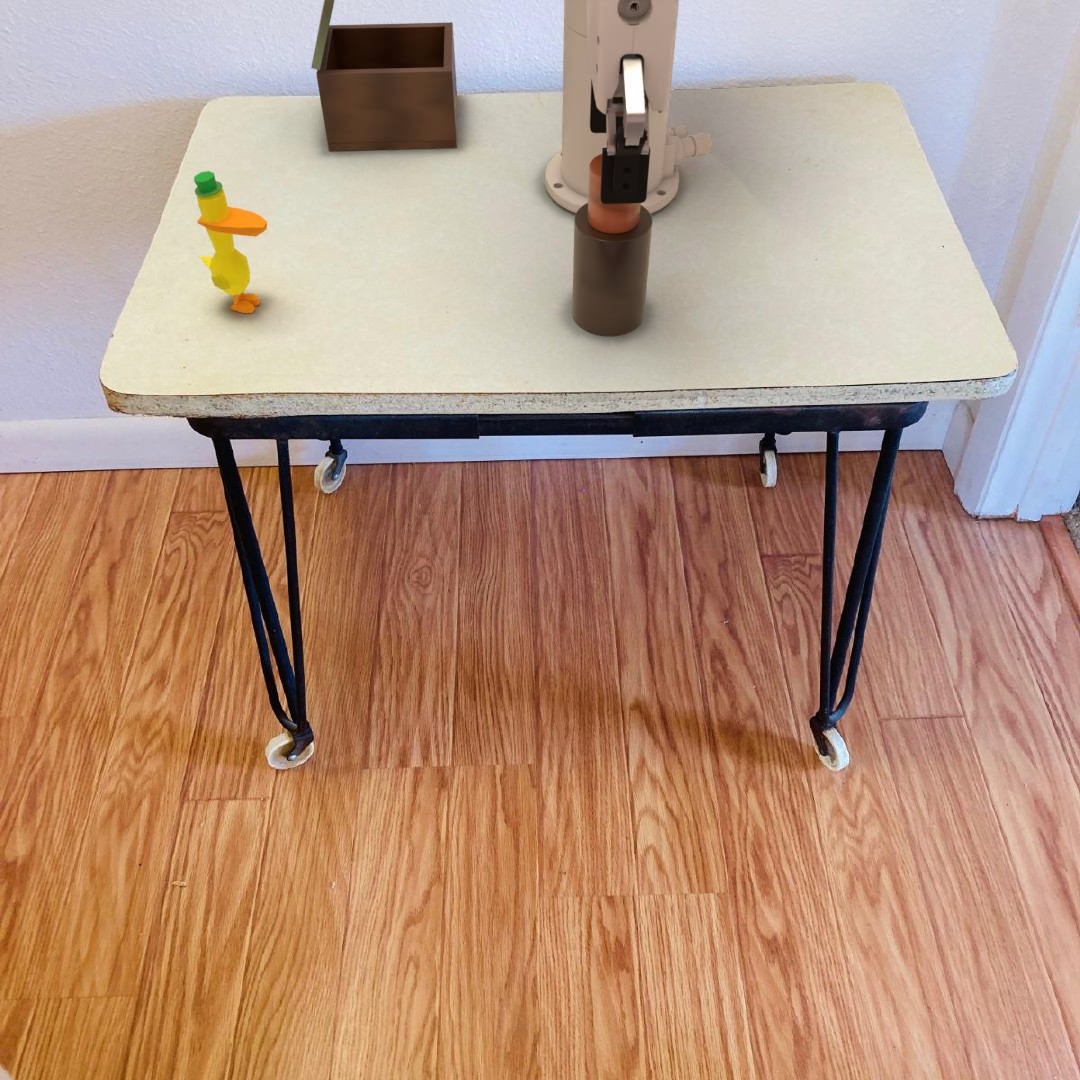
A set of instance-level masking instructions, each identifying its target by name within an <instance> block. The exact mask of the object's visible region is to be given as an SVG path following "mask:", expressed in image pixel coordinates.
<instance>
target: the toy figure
mask: <svg viewBox="0 0 1080 1080" xmlns="http://www.w3.org/2000/svg"><path fill="white" fill-rule="evenodd" d="M193 182H194V184H195V185H196V188H195V189H194V194H195V196H196V200H197V203H198V207H199V211H200V214H201V216H200V217H199V218H198V219H197V221H196V223H197V224H198V225H200V226H202V227H204V228H205V230H206V233H207V235H208V237H209V240H210V242H211V244H212V246H213V249H214V253H213V255H212V256H198V258H199V259H200V261H202V262H203V263H204V264H205V266H206V267H207V268H208V269H209V270H210V272H211V276H210V279H211V280H212V283H213V285H214V287H216V288H218V289H220V290H222V291H223V292H224V293H225V294H227V295H229V296H232V300H233V303H232V304H231V306H230V310H232V311H235V312H239V313H241V314H253V313H254V312H255V310H256V307H257V306H259V305H260V303H261V299H260V298H259V297H258V296H257V295H256V294H254V293H251V292H250V293H244V292H245V291H246V290H247V288H248V286H249V284H250V281H251V269H250V266H249V261H248V258H247V256H246V255H244V254H243V253H242V252H240V251H239V250H238V249H236V248H235V242H234V235H236V236H242V237H243V236H244V237H255V238H256V237H258V236H260V235H261V234H263V232H265V231H267V229H268V228H267V227H268V221H267V220H266V219H265V218H263V217H262V216H261V214H258V213H255V212H253V211H250V210H246V209H242V208H238V207H233V206H228V201H227V199H226V193H225V190H224V187H223V184H222V182H220V181H217V180H216V176H215V172H212V171H210V170H207V171H201V172H198V173H197V174H196V175H194V178H193Z"/></svg>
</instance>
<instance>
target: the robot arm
mask: <svg viewBox="0 0 1080 1080" xmlns="http://www.w3.org/2000/svg"><path fill="white" fill-rule="evenodd" d="M679 6H680V5H679V0H563V43H562V44H563V45H562V47H563V50H562V52H563V53H562V110H561V111H562V113H561V114H562V119H561V120H562V121H561V122H562V123H561V124H562V125H561V131H562V132H561V150H560V151H559V152H557V153H555V155H554V156H553V157H552V158H551V159H550V160H549V162H548V163H547V165H546V168H545V172H544V184H545V188H546V192H547V193H548V194H549V196H550V198H551V199H552V200H553V201H554V202H555V203H557V205H559V206H561V207H562V208H564V209H566V210H567V211H569V212H572V213H574V214H576V212H577V211H578V210H579V208H580V207H582V206H583V205H584V204H586V203H588V190H589V165H590V162H591V161H592V159H593V158H595V157H596V156H598V155H600V154H602V168H601V190H600V197H601V202H602V203H604V204H630V203H641V205H642V206H643V207H645V208H646V209H647V210H648V211H649V213H650V214H653V213H655V212H658V211H660V210H661V209H663V208H664V207H666V206H667V205H668V204H670V203H671V202H672V201H673V199H675V197H676V195H677V193H678V191H679V183H680V172H679V170H678V167H677V165H678V164H681V163H682V162H683V160H684V159H686V158H690V157H691V158H692V157H697V156H702V155H706V154H710V153H712V151H713V139H712V137H711V134H710V133H709V132H707V131H705V132H704V131H703V132H699V133H696V134H690V135H688V130H687V127H686V126H685V125H684V124H681V125H677V126H672V127H670V128H668V124H669V123H668V122H669V111H670V101H671V92H672V91H671V90H672V81H673V80H672V79H673V70H674V60H675V59H674V57H675V49H676V37H677V27H678V17H679Z"/></svg>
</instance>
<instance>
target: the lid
mask: <svg viewBox="0 0 1080 1080" xmlns="http://www.w3.org/2000/svg"><path fill="white" fill-rule="evenodd" d="M334 5H335V0H323V4H322V9H321V14H320V19H319V23H318V29H317V35H316V41H315V46H314V51H313V56H312V61H311V67H310V68H311V69H314V70H316V71H317V70H320V67H321V62H322V58H323V53H324V48H325V43H326V39H327V34H328V29H329V25H331V19H332V14H333V10H334Z"/></svg>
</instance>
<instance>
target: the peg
mask: <svg viewBox="0 0 1080 1080" xmlns="http://www.w3.org/2000/svg"><path fill="white" fill-rule="evenodd" d="M601 168H602V154H600V155H598V156H596V157H595V158H593V159H592V161H591V162H590V165H589V190H588V217H587V218H588V222H589V224H590V225H591V226H592V227H593V228H595V229H596V230H598V231H601V232H605V233H611V234H617V233H624V232H628V231H630V230H632V229H634V228H635V227H636V226H637V225H638V223H639V220H640V207H641V203H630V204H604V203H602V202H601V197H600V190H601Z"/></svg>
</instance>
